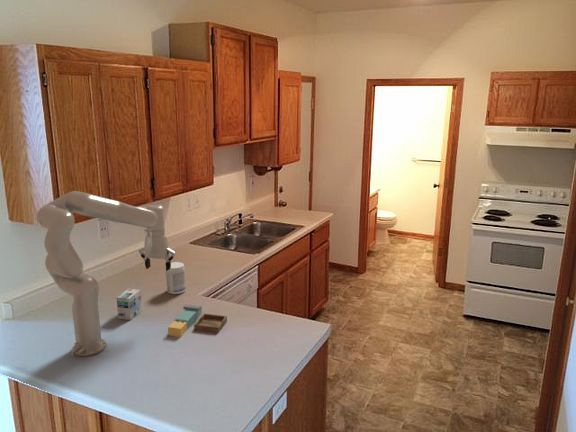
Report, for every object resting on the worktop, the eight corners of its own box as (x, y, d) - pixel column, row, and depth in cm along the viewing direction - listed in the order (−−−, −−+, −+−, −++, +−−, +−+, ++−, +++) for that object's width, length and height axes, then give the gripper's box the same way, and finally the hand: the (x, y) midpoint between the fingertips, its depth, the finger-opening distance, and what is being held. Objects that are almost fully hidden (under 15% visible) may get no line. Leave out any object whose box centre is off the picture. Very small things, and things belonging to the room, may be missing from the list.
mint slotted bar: (189, 329, 204) (188, 319, 202) (173, 327, 205) (172, 317, 204) (203, 313, 219) (203, 303, 217) (188, 312, 220) (188, 301, 219)
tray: (218, 332, 201) (218, 327, 201) (194, 329, 204) (194, 324, 203) (226, 321, 212) (226, 316, 211) (204, 318, 214) (203, 313, 214)
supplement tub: (188, 288, 247) (187, 262, 244) (181, 295, 238) (180, 268, 234) (171, 286, 249) (170, 261, 245) (163, 294, 240) (162, 267, 236)
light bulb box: (131, 320, 211) (129, 298, 209) (117, 319, 213) (115, 297, 210) (142, 310, 221) (141, 289, 219) (129, 308, 223) (128, 288, 220)
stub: (181, 337, 198) (180, 328, 197) (168, 335, 199) (167, 326, 198) (187, 330, 203) (186, 322, 202) (174, 328, 205) (174, 320, 204)
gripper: (133, 233, 204) (136, 270, 208) (170, 236, 201) (172, 273, 205) (141, 229, 211) (144, 264, 215) (177, 231, 208) (179, 267, 212)
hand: (158, 268), depth 210 cm, fingers open, 9 cm apart
